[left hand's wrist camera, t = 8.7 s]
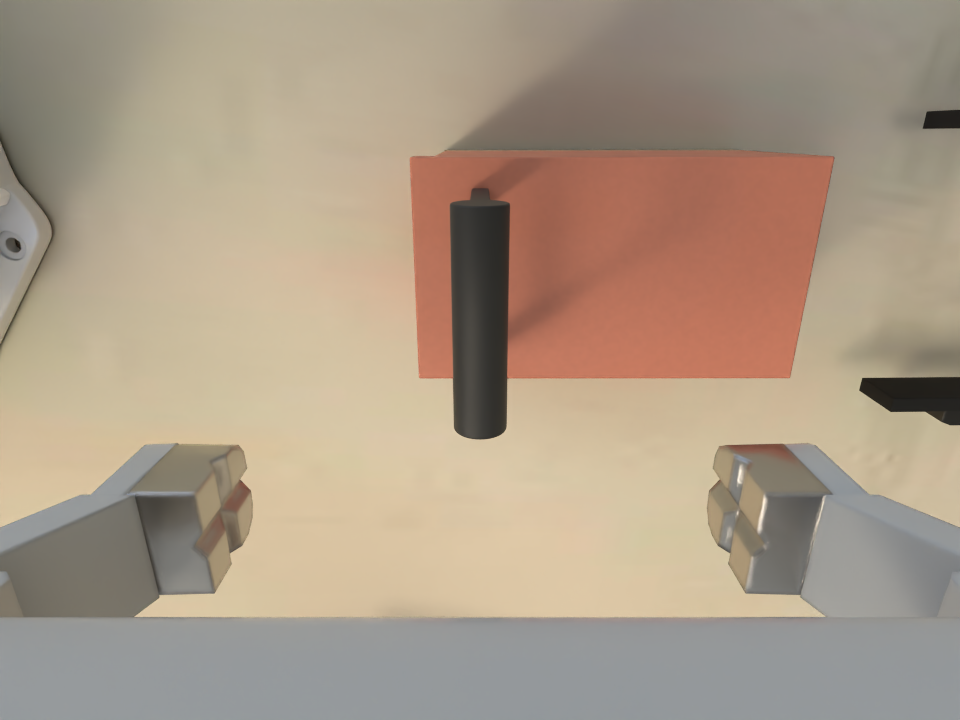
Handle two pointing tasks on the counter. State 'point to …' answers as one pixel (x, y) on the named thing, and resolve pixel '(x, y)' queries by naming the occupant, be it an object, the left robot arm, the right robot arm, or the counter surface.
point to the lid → (609, 269)
